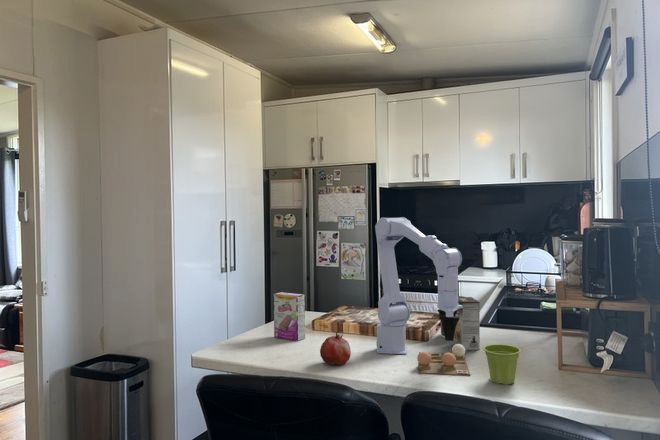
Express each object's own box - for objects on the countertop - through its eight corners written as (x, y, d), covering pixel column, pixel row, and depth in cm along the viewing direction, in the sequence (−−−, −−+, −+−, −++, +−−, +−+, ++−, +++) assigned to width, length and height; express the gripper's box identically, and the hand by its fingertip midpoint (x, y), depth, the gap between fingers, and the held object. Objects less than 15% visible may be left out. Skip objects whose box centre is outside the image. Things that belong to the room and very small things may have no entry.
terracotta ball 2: (442, 368, 140) (441, 355, 140) (441, 364, 144) (441, 350, 144) (456, 368, 139) (456, 355, 139) (455, 364, 143) (455, 350, 143)
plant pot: (501, 389, 125) (501, 355, 125) (476, 378, 133) (476, 346, 133) (528, 383, 129) (528, 350, 128) (503, 373, 137) (502, 342, 137)
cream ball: (452, 358, 149) (452, 345, 149) (451, 354, 153) (451, 342, 153) (465, 359, 148) (465, 346, 148) (464, 355, 152) (464, 342, 152)
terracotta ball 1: (417, 367, 141) (417, 353, 141) (417, 363, 145) (417, 349, 145) (431, 367, 140) (431, 354, 140) (431, 363, 144) (430, 350, 144)
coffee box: (453, 343, 170) (453, 297, 170) (471, 342, 170) (471, 296, 170) (461, 350, 161) (461, 301, 160) (481, 349, 161) (480, 301, 161)
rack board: (418, 373, 138) (418, 369, 138) (418, 353, 158) (418, 349, 158) (470, 375, 135) (470, 371, 135) (463, 355, 155) (463, 351, 155)
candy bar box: (273, 337, 181) (272, 293, 180) (281, 335, 185) (281, 291, 185) (297, 341, 175) (297, 296, 174) (305, 338, 179) (305, 294, 179)
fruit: (315, 361, 151) (315, 329, 150) (343, 357, 154) (343, 326, 154) (327, 370, 142) (326, 336, 142) (356, 365, 146) (355, 332, 146)
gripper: (464, 294, 133) (465, 343, 133) (460, 286, 148) (460, 331, 148) (438, 294, 135) (438, 343, 135) (436, 286, 149) (436, 330, 149)
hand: (448, 336), depth 141 cm, fingers open, 7 cm apart
